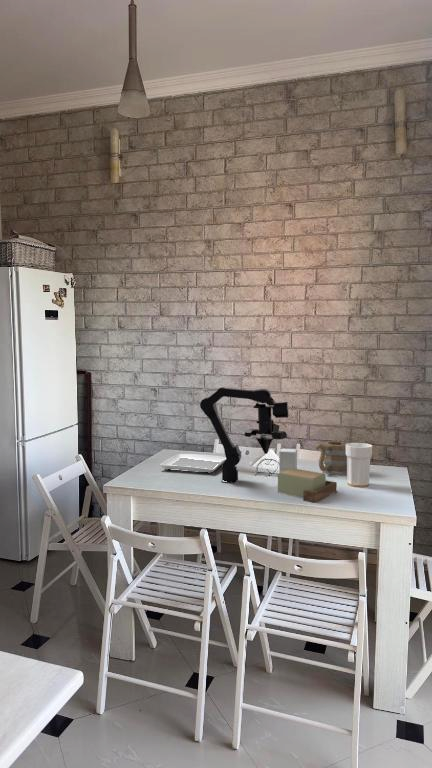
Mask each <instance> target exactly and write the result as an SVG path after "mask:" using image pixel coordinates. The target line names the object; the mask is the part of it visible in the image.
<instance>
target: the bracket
mask: <svg viewBox="0 0 432 768" xmlns="http://www.w3.org/2000/svg"><path fill="white" fill-rule="evenodd" d="M337 486H338V485H337V482H336V481H331V480H326V481H325V486H324V487H322V488H320V489H318V490H316V491H309V490H303V497H302V501H304V502H310V503H314V504H315V503H318V502H320V501H321V500H323V499H325V498H327V497H329V496H331V495H333V494H335V493H337V488H338V487H337Z"/></svg>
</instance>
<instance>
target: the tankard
mask: <svg viewBox="0 0 432 768" xmlns="http://www.w3.org/2000/svg"><path fill="white" fill-rule="evenodd" d="M347 443H348V442H345V441H339V440H338V441H336V440H334V441H332V440H330V441H326V442H325V445H323V444H322V443H317V445H315V447H314V448H315V450H318V451H319V450H320V456H319V458H318V466H319V469H320V471H322V472H321V473H324V474H326V475H329V476H339V477H340V476H342V477H343V476H347V456H346V444H347Z"/></svg>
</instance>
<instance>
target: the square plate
mask: <svg viewBox="0 0 432 768" xmlns="http://www.w3.org/2000/svg"><path fill="white" fill-rule="evenodd" d="M180 458H188V459H194V460H204V461H212V462H220V463H219V464H217V465H216V466H215V467H214V468H213V469H207V468H199V467H191V466H177V465H172V464H173V463H175V462H176V461H178V460H179V459H180ZM225 460H226V456H220V455H209V454H197V453H196V454H195V453H193V454H192V453H177V454H176V455H173V456H171V457H170V458H168V459H166V460H164V461H163V462H162V463H160V464H159V466H160V467H161V468H162V469H164V468H166V469H165V470H168V469H179V470H188V471H198V472H208V473H207V474H212V473H213V472H214V471H216V470H217V469H218V468H219V467H220V466H222V463H223V462H224V461H225ZM211 472H212V473H211Z"/></svg>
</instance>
